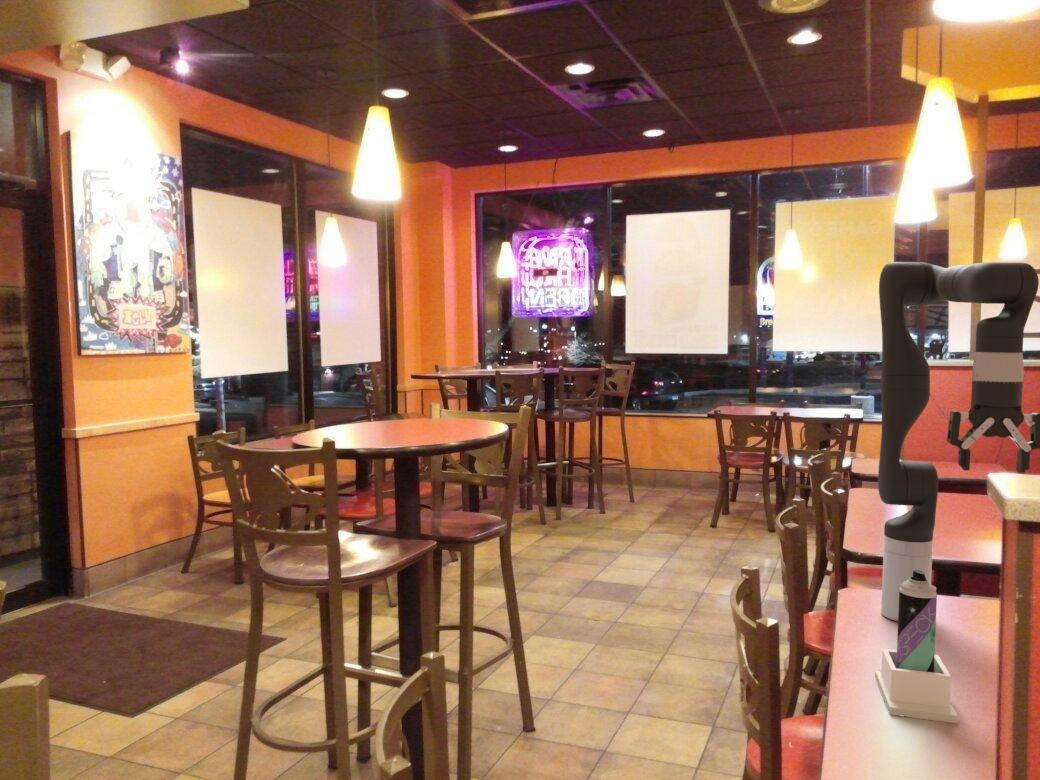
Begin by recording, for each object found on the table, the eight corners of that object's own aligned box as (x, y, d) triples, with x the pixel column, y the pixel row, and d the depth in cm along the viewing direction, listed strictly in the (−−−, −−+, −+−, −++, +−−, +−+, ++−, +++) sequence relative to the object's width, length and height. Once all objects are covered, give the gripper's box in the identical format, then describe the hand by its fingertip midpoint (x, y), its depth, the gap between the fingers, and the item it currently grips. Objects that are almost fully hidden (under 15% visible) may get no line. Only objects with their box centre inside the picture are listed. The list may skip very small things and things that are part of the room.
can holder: (875, 677, 136) (876, 642, 136) (936, 684, 134) (937, 649, 133) (889, 714, 123) (890, 676, 122) (957, 723, 120) (959, 684, 120)
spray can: (889, 683, 131) (894, 566, 130) (922, 684, 131) (927, 567, 130) (905, 698, 126) (909, 576, 125) (939, 699, 126) (944, 576, 124)
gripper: (1036, 378, 137) (1031, 469, 138) (946, 376, 141) (942, 465, 142) (1052, 380, 130) (1047, 477, 131) (957, 378, 133) (952, 472, 135)
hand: (992, 471), depth 136 cm, fingers open, 8 cm apart
